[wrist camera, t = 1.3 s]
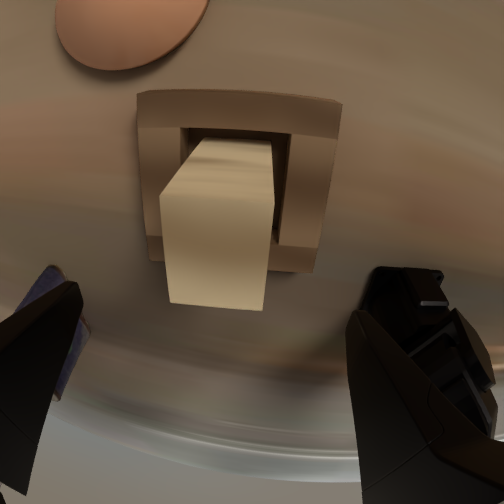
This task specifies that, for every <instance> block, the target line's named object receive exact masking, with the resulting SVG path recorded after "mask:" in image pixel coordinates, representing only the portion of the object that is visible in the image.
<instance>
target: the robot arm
mask: <svg viewBox="0 0 504 504" xmlns="http://www.w3.org/2000/svg"><path fill="white" fill-rule="evenodd" d="M381 272H383V273H382V274H379V273H381ZM438 276H439V277H438ZM443 278H444V275H443V273H442V272H441V271H439V270H429V269H421V268H408V267H404V268H398V267H385V266H380V267H377V268H376V269H375V271H374V274H373V276H372V279H371V282H370V285H369V288H368V290H367V293H366V296H365V299H364V301H363V304H362V307H361V309H360V310H355V311H353V312H352V315H351V317H350V320H349V322H348V325H347V327H346V332H345V337H346V355H347V375H348V383H349V389H350V396H351V403H352V410H353V417H354V424H355V432H356V440H357V448H358V457H359V466H360V476H361V486H362V500H363V504H504V442H501V441H497V440H494V435H495V429H496V421H497V413H498V406H497V403H496V400H495V398H494V396H493V394H492V391H491V389H490V388H491V387H492V386H494V385H495V384H496V383H495V377H494V373H493V368H492V364H491V360H490V356H489V353H488V351H487V349H486V348H485V346H484V344H483V342H482V340H481V339H480V337H479V335H478V334H477V332H476V331H475V329H474V328H473V327H472V326H471V325H470V324H469V322H468V321H467V320H466V319H465V318H464V317H463V316H462V314H461V313H460V312H459V311H458V310H457V309H456V308H454V309H453V310H452V311H450V310H449V309H448V306H449V302H448V300H447V298H446V296H445V295H444V293H443V291H442V290H441V288H440V285H441V283H442V281H443ZM82 309H83V298H82V295H81V292H80V289H79V286H78V284H77V282H73V281H65V282H63V283H61V284H60V285H58V286H56V287H55V288H53V289H52V290H50V291H48V292H47V293H45V294H44V295H42V296H40V297H39V298H37V299H36V300H34V301H33V302H31V303H29V304H28V305H26V306H25V307H23V308H22V309H20V310H19V311H17V312H16V313H14V314H13V315H11V316H10V317H8V318H7V319H5V320H4V321H2V322H1V323H0V487H1V484H2V483H3V484H5V485H7V486H8V487H10V488H12V489H14V490H16V491H17V492H19V493H21V494H23V495H25V496H26V494H27V491H28V486H29V481H30V476H31V472H32V467H33V463H34V459H35V455H36V451H37V447H38V446H37V445H38V443H39V439H40V436H41V432H42V429H43V425H44V422H45V419H46V415H47V412H48V409H49V406H50V403H51V400H52V397H53V394H54V391H55V388H56V385H57V382H58V379H59V376H60V374H61V371H62V368H63V366H64V363H65V360H66V358H67V355H68V352H69V350H70V347H71V344H72V341H73V338H74V335H75V331H76V328H77V325H78V321H79V318H80V315H81V312H82ZM0 504H6V503H5V500H4V498H3V495H2V493H1V492H0Z"/></svg>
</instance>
